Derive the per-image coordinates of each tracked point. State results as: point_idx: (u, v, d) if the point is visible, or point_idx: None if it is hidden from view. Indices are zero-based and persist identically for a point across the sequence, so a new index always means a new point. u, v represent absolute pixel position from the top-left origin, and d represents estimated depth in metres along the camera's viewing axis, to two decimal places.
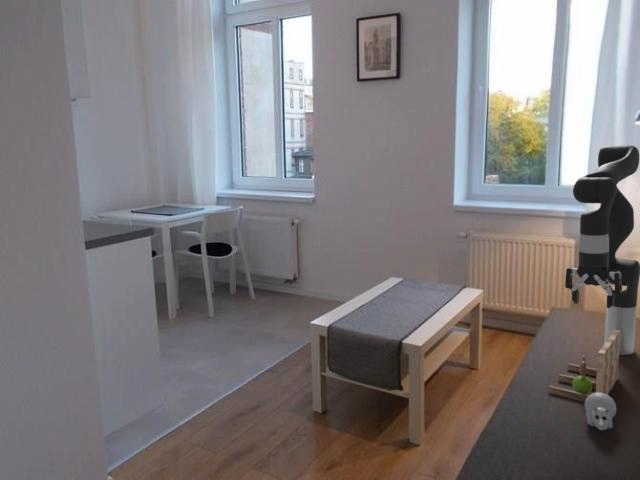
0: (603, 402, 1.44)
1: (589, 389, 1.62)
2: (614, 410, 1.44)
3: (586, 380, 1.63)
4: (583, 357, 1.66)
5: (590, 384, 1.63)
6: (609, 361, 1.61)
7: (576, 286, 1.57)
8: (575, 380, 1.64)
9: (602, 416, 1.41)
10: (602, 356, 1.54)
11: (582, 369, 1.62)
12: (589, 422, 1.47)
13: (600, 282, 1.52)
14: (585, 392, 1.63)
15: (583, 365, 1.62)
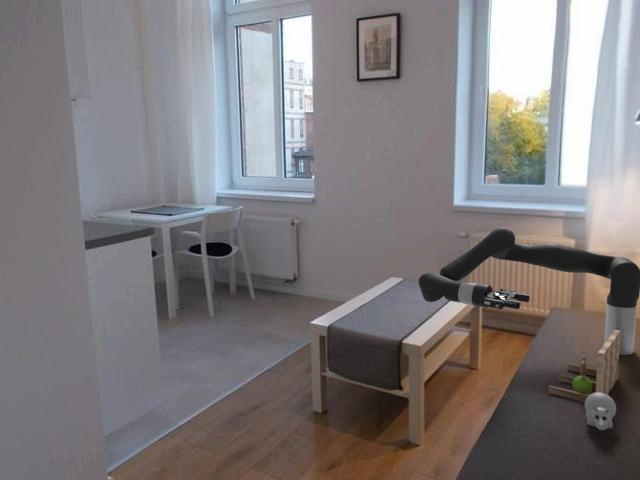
0: (603, 402, 1.44)
1: (589, 389, 1.62)
2: (614, 410, 1.44)
3: (586, 380, 1.63)
4: (583, 357, 1.66)
5: (590, 384, 1.63)
6: (609, 361, 1.61)
7: None
8: (575, 380, 1.64)
9: (602, 416, 1.41)
10: (602, 356, 1.54)
11: (582, 369, 1.62)
12: (589, 422, 1.47)
13: None
14: (585, 392, 1.63)
15: (583, 365, 1.62)
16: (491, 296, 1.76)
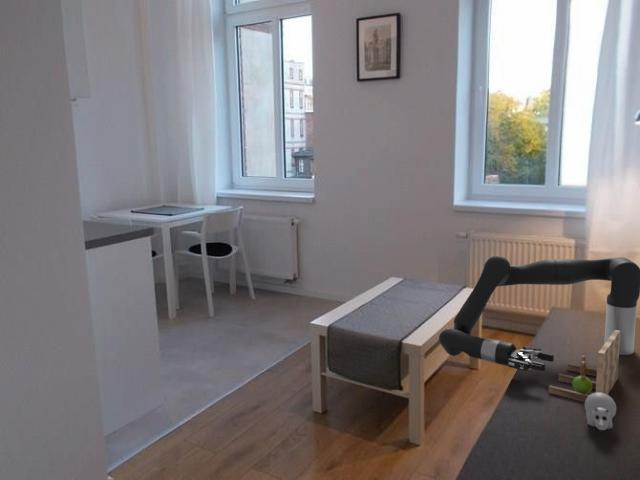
0: (603, 402, 1.44)
1: (589, 389, 1.62)
2: (614, 410, 1.44)
3: (586, 380, 1.63)
4: (583, 357, 1.66)
5: (590, 384, 1.63)
6: (609, 361, 1.61)
7: None
8: (575, 380, 1.64)
9: (602, 416, 1.41)
10: (602, 356, 1.54)
11: (582, 369, 1.62)
12: (589, 422, 1.47)
13: None
14: (585, 392, 1.63)
15: (583, 365, 1.62)
16: (515, 356, 1.74)
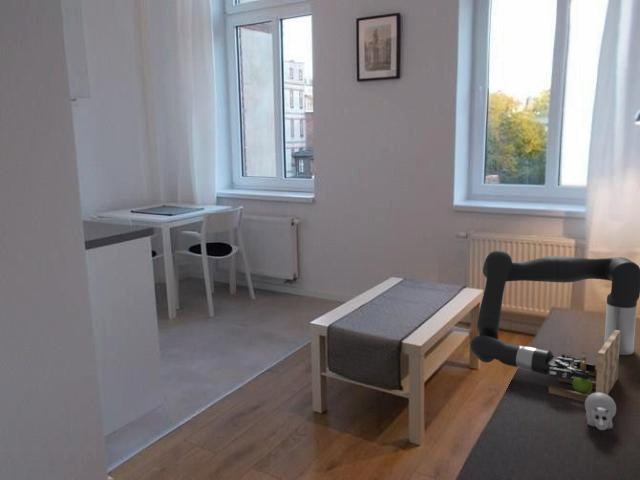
0: (603, 402, 1.44)
1: (589, 389, 1.62)
2: (614, 410, 1.44)
3: (586, 379, 1.63)
4: (583, 357, 1.66)
5: (590, 384, 1.63)
6: (609, 361, 1.61)
7: None
8: (575, 380, 1.64)
9: (602, 416, 1.41)
10: (602, 356, 1.54)
11: (582, 369, 1.62)
12: (589, 422, 1.47)
13: None
14: (585, 392, 1.63)
15: (583, 365, 1.62)
16: (554, 364, 1.66)
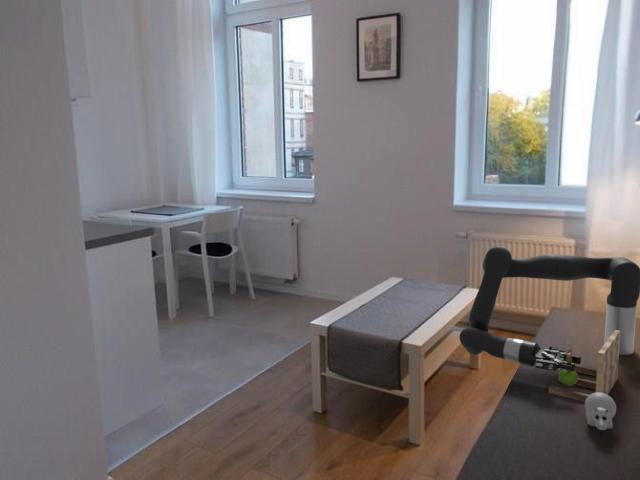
0: (603, 402, 1.44)
1: (575, 381, 1.65)
2: (614, 410, 1.44)
3: (572, 371, 1.65)
4: (570, 349, 1.68)
5: (576, 376, 1.65)
6: (609, 361, 1.61)
7: None
8: (561, 372, 1.67)
9: (602, 416, 1.41)
10: (602, 356, 1.54)
11: (568, 361, 1.64)
12: (589, 422, 1.47)
13: None
14: (571, 383, 1.65)
15: (569, 357, 1.64)
16: (541, 356, 1.69)
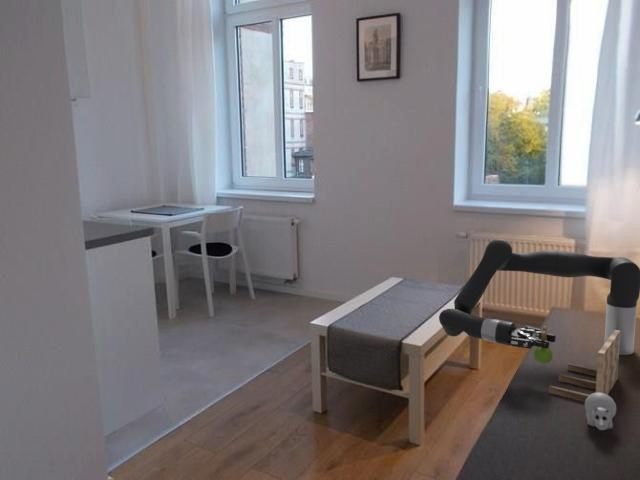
0: (603, 402, 1.44)
1: (549, 358, 1.68)
2: (614, 410, 1.44)
3: (547, 349, 1.69)
4: (544, 328, 1.72)
5: (550, 353, 1.69)
6: (609, 361, 1.61)
7: None
8: (536, 349, 1.70)
9: (602, 416, 1.41)
10: (602, 356, 1.54)
11: (542, 338, 1.68)
12: (589, 422, 1.47)
13: None
14: (545, 361, 1.69)
15: (543, 335, 1.68)
16: (516, 335, 1.72)
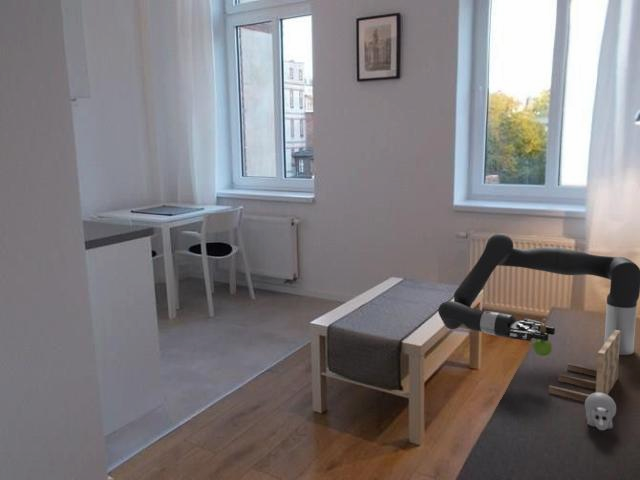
0: (603, 402, 1.44)
1: (548, 350, 1.68)
2: (614, 410, 1.44)
3: (546, 341, 1.69)
4: (544, 320, 1.71)
5: (549, 346, 1.68)
6: (609, 361, 1.61)
7: None
8: (535, 342, 1.70)
9: (602, 416, 1.41)
10: (602, 356, 1.54)
11: (542, 331, 1.67)
12: (589, 422, 1.47)
13: None
14: (544, 353, 1.69)
15: (543, 327, 1.68)
16: (516, 327, 1.72)
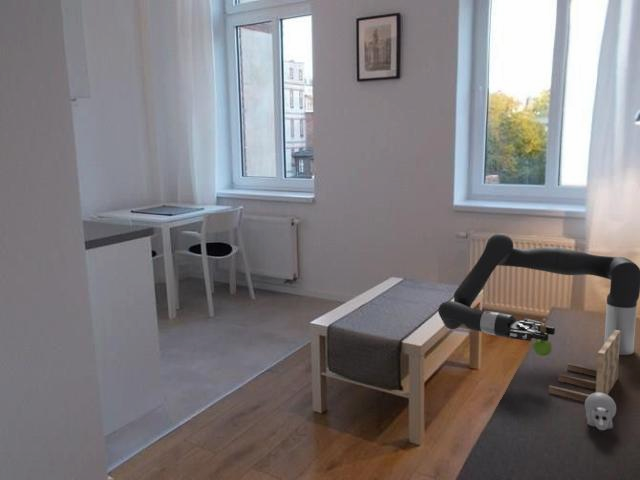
0: (603, 402, 1.44)
1: (548, 350, 1.68)
2: (614, 410, 1.44)
3: (546, 341, 1.69)
4: (544, 320, 1.71)
5: (549, 346, 1.68)
6: (609, 361, 1.61)
7: None
8: (535, 342, 1.70)
9: (602, 416, 1.41)
10: (602, 356, 1.54)
11: (542, 331, 1.67)
12: (589, 422, 1.47)
13: None
14: (544, 353, 1.69)
15: (543, 327, 1.68)
16: (516, 327, 1.72)
